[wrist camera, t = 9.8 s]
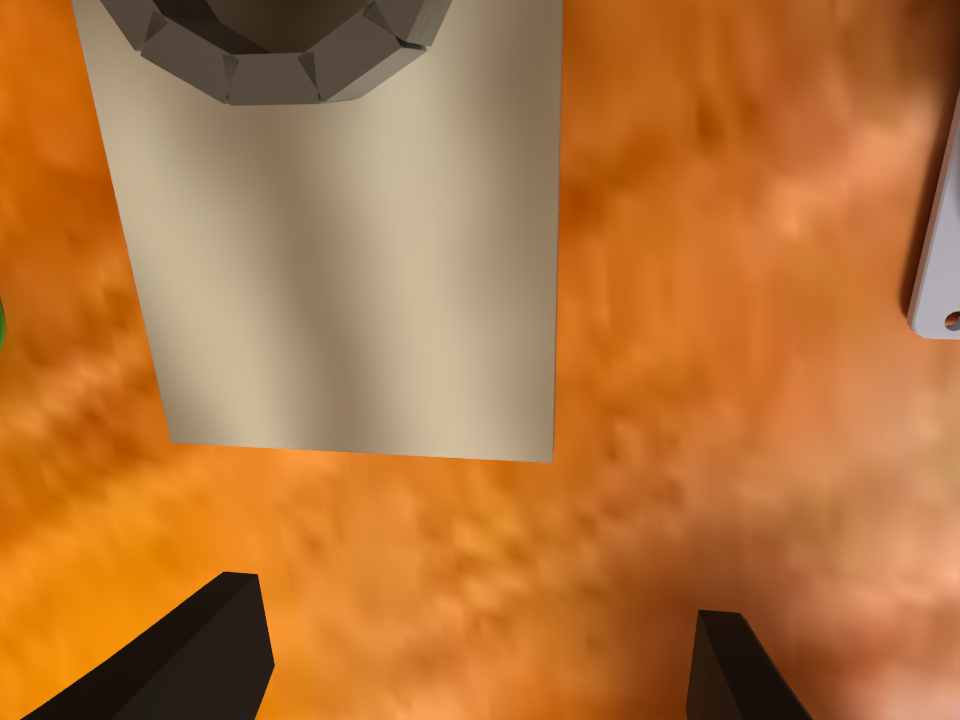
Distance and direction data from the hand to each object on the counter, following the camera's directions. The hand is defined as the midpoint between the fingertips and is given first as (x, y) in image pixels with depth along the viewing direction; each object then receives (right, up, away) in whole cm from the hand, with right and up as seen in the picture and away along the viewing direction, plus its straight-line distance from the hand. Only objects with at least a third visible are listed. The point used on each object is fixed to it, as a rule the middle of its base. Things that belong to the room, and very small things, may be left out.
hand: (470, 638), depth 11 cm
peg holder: (-4, +12, +6) cm, 14 cm away
